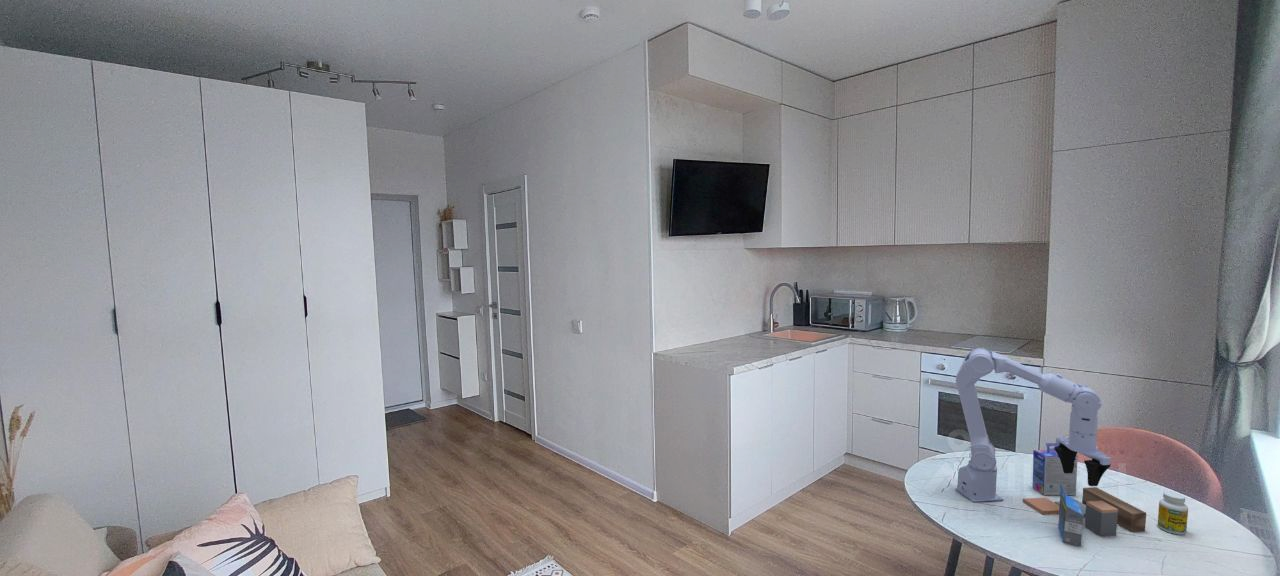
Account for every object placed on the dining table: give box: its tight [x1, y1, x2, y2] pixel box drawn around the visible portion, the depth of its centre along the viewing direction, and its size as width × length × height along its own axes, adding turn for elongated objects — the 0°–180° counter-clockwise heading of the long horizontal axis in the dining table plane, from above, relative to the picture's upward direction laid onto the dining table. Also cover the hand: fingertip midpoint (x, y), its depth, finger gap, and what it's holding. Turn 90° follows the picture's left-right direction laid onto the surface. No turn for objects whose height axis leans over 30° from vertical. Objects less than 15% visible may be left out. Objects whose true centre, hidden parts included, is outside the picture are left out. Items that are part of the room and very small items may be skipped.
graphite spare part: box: [1084, 501, 1118, 537], centre depth 136 cm, size 4×4×7 cm
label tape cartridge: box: [1057, 483, 1085, 547], centre depth 134 cm, size 9×4×12 cm, turn 148°
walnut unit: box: [1081, 486, 1147, 533], centre depth 143 cm, size 4×14×5 cm, turn 4°
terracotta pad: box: [1022, 496, 1060, 515], centre depth 148 cm, size 7×7×1 cm
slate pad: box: [1053, 499, 1086, 518], centre depth 146 cm, size 7×7×1 cm
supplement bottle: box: [1157, 490, 1189, 535], centre depth 136 cm, size 5×5×10 cm
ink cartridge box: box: [1032, 442, 1079, 496], centre depth 157 cm, size 10×6×14 cm, turn 89°
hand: (1080, 479), depth 143 cm, fingers open, 7 cm apart
